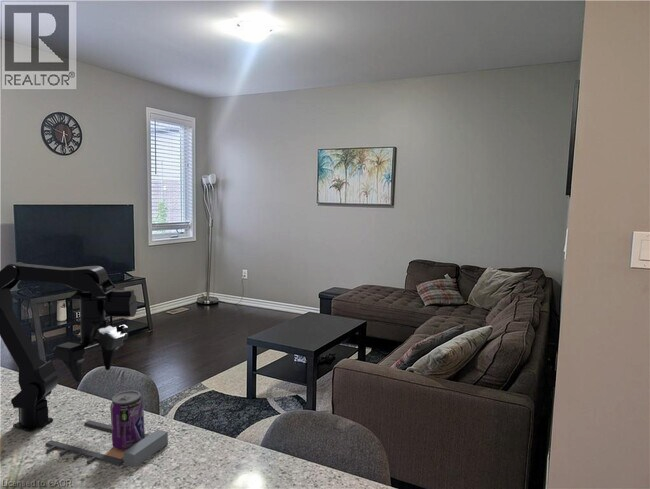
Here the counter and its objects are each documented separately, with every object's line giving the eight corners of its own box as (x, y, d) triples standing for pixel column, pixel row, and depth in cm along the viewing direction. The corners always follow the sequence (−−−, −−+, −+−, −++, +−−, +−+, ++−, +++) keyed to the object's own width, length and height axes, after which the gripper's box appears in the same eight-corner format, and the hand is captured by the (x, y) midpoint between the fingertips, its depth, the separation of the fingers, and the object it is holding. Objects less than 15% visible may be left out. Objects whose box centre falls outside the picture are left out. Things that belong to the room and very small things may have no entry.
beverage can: (132, 454, 105) (130, 405, 103) (105, 450, 107) (102, 401, 105) (151, 437, 112) (148, 391, 110) (125, 433, 113) (123, 388, 112)
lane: (38, 449, 106) (37, 437, 106) (89, 422, 120) (89, 411, 119) (125, 474, 98) (125, 461, 97) (169, 442, 111) (169, 430, 111)
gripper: (86, 329, 105) (87, 394, 106) (144, 311, 122) (144, 368, 124) (50, 323, 109) (52, 387, 110) (111, 307, 126) (112, 362, 127)
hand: (93, 375), depth 118 cm, fingers open, 9 cm apart
